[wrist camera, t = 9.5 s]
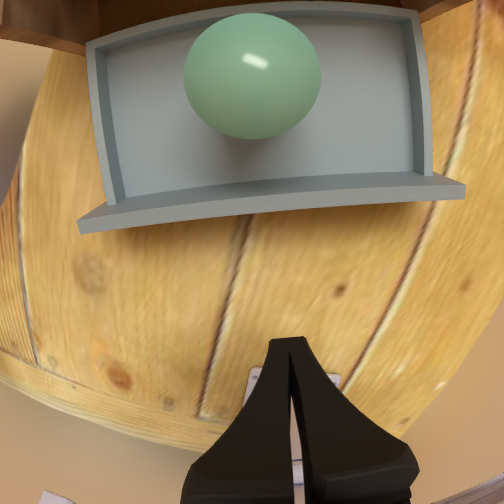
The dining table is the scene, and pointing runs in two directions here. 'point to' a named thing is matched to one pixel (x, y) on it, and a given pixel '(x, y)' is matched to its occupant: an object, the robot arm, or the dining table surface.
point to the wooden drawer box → (87, 20)
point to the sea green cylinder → (252, 76)
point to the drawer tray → (273, 148)
